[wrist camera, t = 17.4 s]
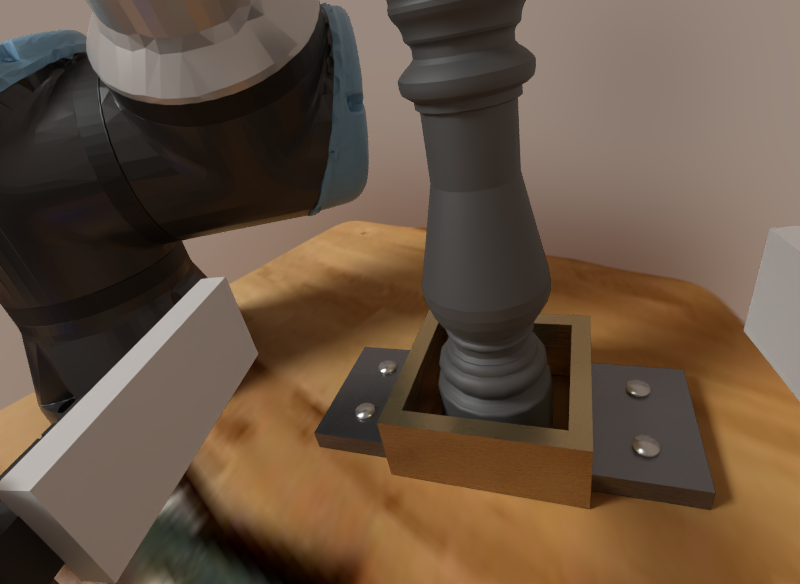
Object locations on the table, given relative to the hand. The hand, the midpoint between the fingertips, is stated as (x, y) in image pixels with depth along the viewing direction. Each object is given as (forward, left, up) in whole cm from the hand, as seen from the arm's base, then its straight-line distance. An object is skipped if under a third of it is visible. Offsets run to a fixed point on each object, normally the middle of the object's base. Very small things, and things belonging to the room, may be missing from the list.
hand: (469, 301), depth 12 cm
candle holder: (-8, +6, -15) cm, 18 cm away
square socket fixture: (-8, +6, -14) cm, 17 cm away
